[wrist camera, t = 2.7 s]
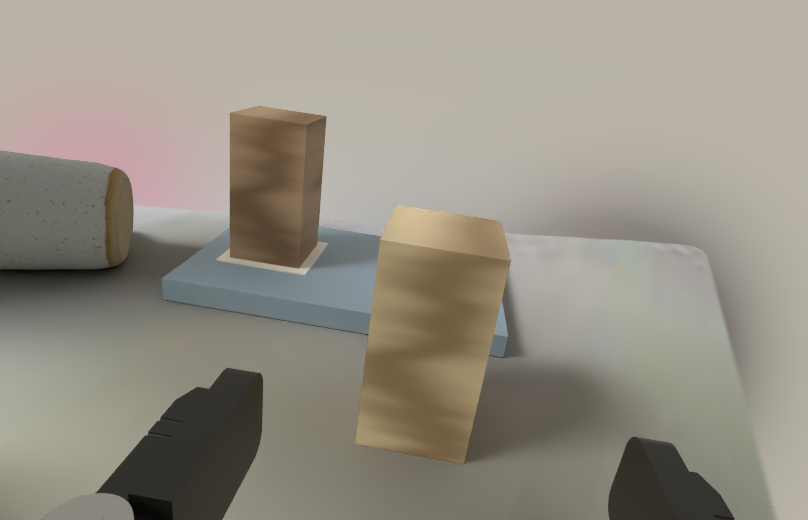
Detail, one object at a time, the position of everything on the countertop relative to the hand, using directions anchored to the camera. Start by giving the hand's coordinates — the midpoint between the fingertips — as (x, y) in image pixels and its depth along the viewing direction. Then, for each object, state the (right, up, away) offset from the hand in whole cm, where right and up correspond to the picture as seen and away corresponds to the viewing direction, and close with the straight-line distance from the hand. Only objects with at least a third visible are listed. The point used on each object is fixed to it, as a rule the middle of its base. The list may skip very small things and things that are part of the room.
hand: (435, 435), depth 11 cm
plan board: (-5, +2, +27) cm, 28 cm away
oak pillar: (0, -4, +14) cm, 15 cm away
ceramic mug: (-25, +4, +25) cm, 36 cm away
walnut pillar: (-10, +5, +27) cm, 29 cm away
